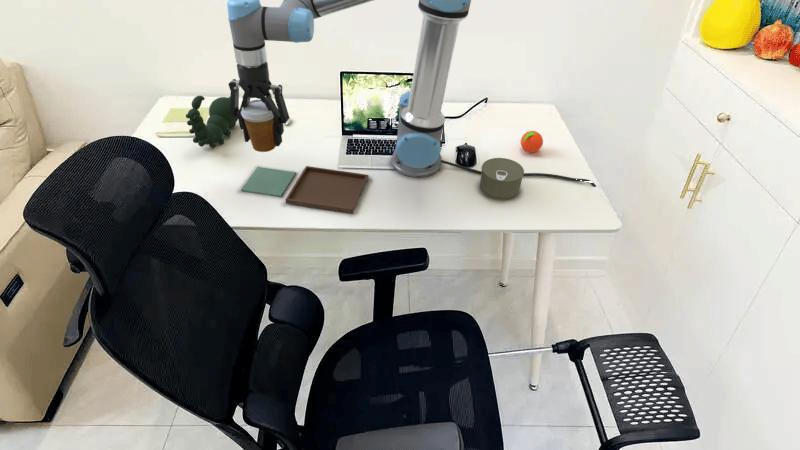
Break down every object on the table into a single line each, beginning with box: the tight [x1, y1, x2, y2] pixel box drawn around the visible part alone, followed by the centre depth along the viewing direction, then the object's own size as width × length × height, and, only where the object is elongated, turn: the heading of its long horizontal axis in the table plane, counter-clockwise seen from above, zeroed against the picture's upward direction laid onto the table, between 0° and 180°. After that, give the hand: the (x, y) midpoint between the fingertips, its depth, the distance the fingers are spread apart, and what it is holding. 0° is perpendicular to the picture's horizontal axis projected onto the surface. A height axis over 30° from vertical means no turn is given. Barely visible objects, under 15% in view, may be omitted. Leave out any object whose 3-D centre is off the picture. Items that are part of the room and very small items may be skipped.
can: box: [479, 157, 525, 201], centre depth 155 cm, size 12×12×7 cm
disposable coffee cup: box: [241, 98, 277, 153], centre depth 145 cm, size 10×10×12 cm
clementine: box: [520, 130, 544, 154], centre depth 172 cm, size 8×7×7 cm
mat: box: [240, 166, 297, 198], centre depth 157 cm, size 12×12×1 cm
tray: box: [285, 165, 369, 215], centre depth 154 cm, size 19×17×2 cm
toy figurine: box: [185, 95, 239, 149], centre depth 170 cm, size 9×19×25 cm
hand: (263, 141), depth 148 cm, fingers closed on disposable coffee cup, 8 cm apart
